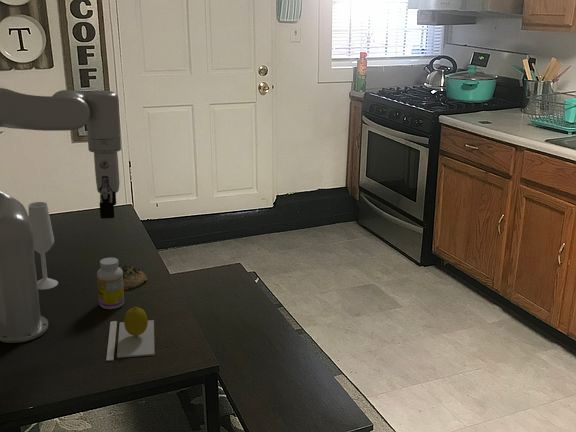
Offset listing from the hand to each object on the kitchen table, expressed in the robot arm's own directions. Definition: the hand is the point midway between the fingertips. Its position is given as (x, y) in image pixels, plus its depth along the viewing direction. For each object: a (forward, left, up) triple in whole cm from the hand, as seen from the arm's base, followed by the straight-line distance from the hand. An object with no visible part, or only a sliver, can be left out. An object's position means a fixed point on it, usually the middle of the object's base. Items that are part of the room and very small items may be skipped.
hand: (108, 211), depth 154 cm
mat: (+6, -14, -28) cm, 32 cm away
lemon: (+6, -13, -28) cm, 32 cm away
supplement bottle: (-1, +5, -28) cm, 29 cm away
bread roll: (+3, +19, -29) cm, 35 cm away
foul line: (0, -14, -28) cm, 32 cm away
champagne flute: (-20, +20, -28) cm, 40 cm away
